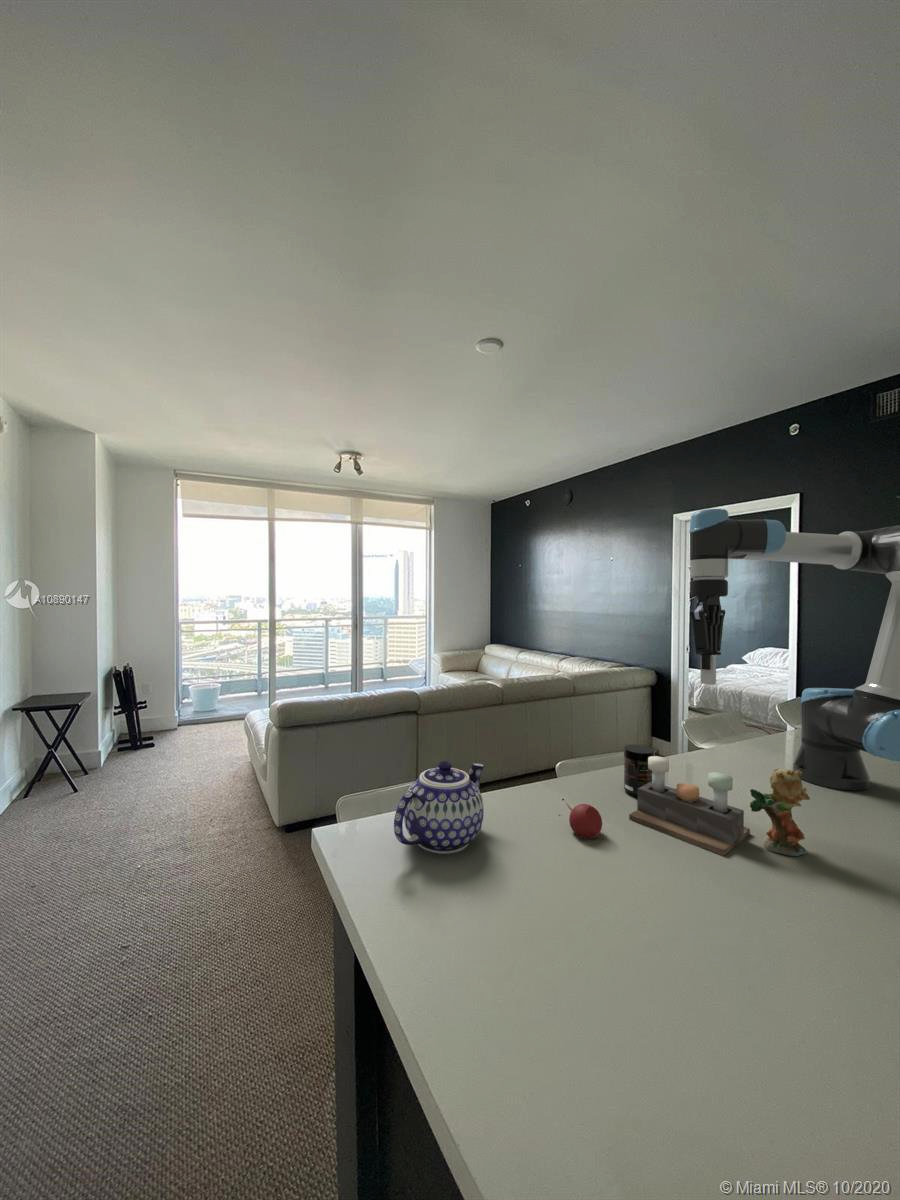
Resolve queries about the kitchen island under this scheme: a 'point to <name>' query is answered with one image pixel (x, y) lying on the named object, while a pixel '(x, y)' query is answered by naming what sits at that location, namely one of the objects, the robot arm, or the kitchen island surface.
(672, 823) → the button board
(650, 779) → the supplement container
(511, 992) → the kitchen island surface
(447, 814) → the teapot
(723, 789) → the sage button
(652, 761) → the cream button
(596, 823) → the fruit
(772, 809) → the figurine
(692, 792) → the orange capped peg
